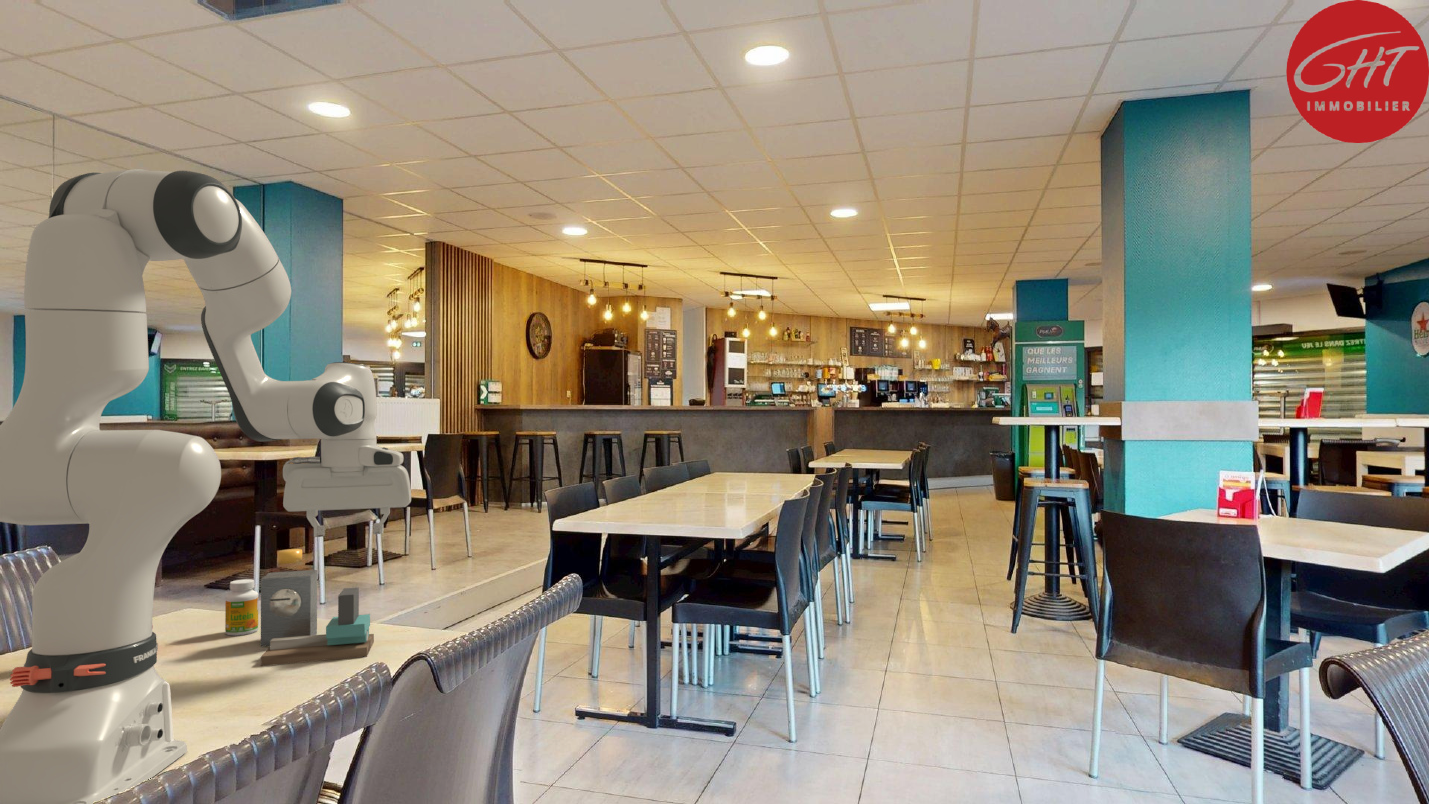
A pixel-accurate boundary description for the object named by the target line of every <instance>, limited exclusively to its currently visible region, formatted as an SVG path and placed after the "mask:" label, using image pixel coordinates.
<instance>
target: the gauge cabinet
mask: <svg viewBox="0 0 1429 804" xmlns="http://www.w3.org/2000/svg"><path fill="white" fill-rule="evenodd" d="M311 635H318V569H314V570H313V569H312V570H311V569H310V570H295V571H294V570H291V571H275V572H274V571H273V572H268V573H267V574H266V575H264V576H263V577H261V578H260V647H261V648H262V647H270V641H271V640H272V639H274V638H286V637H299V636H311Z"/></svg>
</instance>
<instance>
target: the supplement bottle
mask: <svg viewBox="0 0 1429 804" xmlns="http://www.w3.org/2000/svg"><path fill="white" fill-rule="evenodd" d="M254 588H255V580H254V579H250V578H249V579H248V578H246V579H244V578H243V579H236V580H233V581H230V582H229V591H231V592H229V593H227V595H226V596H225V602H224V603H225V605H224V606H225V608H224V609H225V610H224V611H225V613H224V615H225V622H224V623H225V624H224V625H225V626H224V628H225V630H224V631H225V635H227V636H232V637H233V636H234V637H235V636H236V637H237V636H239V637H240V636H245V635H250V634H254V633H256V632H258V630H259V599H260V597H259V593H258V591H257V590H254Z"/></svg>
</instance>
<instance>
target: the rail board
mask: <svg viewBox="0 0 1429 804" xmlns="http://www.w3.org/2000/svg"><path fill="white" fill-rule="evenodd" d="M374 642H375V634H374V633H369V637H368V631H367V641H366V642H362V643H350V644H338V645H327V639H326V633H325V634H316V635H311V636H299V637H286V638H274V639H272V640H271V641H270V646H268V648H267V649H266V651H264V653H263V654H262V655H261V656H260V666H261V667H263V666H274V665H285V664H297V663H306V662H307V663H309V662H310V663H311V662H319V661H329V660H339V659H340V660H341V659H353V658H361V657H362V658H363V656H366V657H368V656H369V653H370V651H371V649H372V647H373V645H374Z"/></svg>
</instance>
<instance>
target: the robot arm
mask: <svg viewBox="0 0 1429 804" xmlns="http://www.w3.org/2000/svg"><path fill="white" fill-rule="evenodd" d="M48 212H49V213H48V214H49V215H48V218H46V219H44V220H42V221H41V222H40V223H38V224H37V225H36V227H34V229H33V231H32V233H31V236H30V242H29V246H28V250H27V255H26V263H25V273H24V285H23V286H24V287H23V288H24V290H23V295H24V298H23V300H24V324H25V361H24V362H25V364H24V365H25V366H24V367H25V369H24V376H23V381H22V382H23V383H22V386H21V390H20V392H19V395H18V396H17V397H18V398H17V400H16V402H15V403H14V406H13V407H12V409H11V410H10V412H9V413H8V415H7V417H6V418H5V419H4V420H3V421H2V423H1V424H0V522H1V523H5V524H7V523H8V524H12V525H13V524H14V525H15V524H16V525H23V526H48V525H49V526H50V525H51V526H52V525H78V524H81V525H83V524H85V525H86V524H89V529H88V535H87V539H86V542H85V544H84V545H83V548H81V550H80V552H77V553H75V554H74V555H72V556H69V557H68V558H66V559H63V560H61V561H59V562H58V563H56V564H54V565H53V566H51V567H49V569H47V570H46V571H45V572H44V573H43V574H42V575H41V576H40V577H39V579H38V580H37V582H36V583H35V585H34V587H33V590H32V615H31V616H32V617H31V619H32V620H31V622H32V623H31V628H32V629H31V636H32V637H31V649H29V651H28V652H27V653H26V658H25V662H24V664H23V666H16V667H15V668H14V667H13V668H14V669H12V671H11V674H10V678H9V681H10V685H11V687H12V688H15V687H16V688H18V687H20V688H21V689H22V691H21V693H20V695H19V697H18V699H17V701H16V702H15V704H14V705H13V707H12V708H11V709H10V712H9V713H8V714H7V716H6V718H5V720H4V722H3V723H2V725H1V727H0V804H93V802H94V801H99V800H101V799H102V798H107V797H108V796H111V795H114V794H117V793H119V792H123V791H125V790H126V789H130V788H131V787H133V786H136V785H137V784H138V783H141V782H143V781H144V780H148V779H149V778H151V779H152V778H154V776H156V775H157V774H159V773H160V772H162V771H164V769H165V768H167V767H168V766H170V765H171V764H172V763H174V762H175V761H176V760H178V759H179V758H181V757H182V756H184V755H185V754H186V753H187V752H188V747H187V746H188V744H187V742H186V741H183V740H179V739H174V726H173V712H172V711H173V709H172V697H171V696H172V694H171V687H170V686H171V685H170V683H169V682H167V680H166V679H164V678H163V677H162V676H161V675H160V674H159V673H158V672H157V671H158V670H156V668H155V665H156V664H157V662H158V660H157V655H158V651H159V647H158V646H159V645H158V642H157V634H156V633H155V632H154V631H153V629H152V625H153V614H154V613H153V609H154V598H155V597H154V596H155V595H154V594H155V585H156V584H155V583H156V576H157V571H158V567H159V564H160V561H161V558H162V556H163V554H164V552H165V550H166V548H167V547H168V544H169V543H170V542H171V540H172V539H173V537H175V535H176V534H177V532H179V530H180V529H181V528H182V527H183V526H184V525H185V524H186V523H187V522H188V521H189V520H191V519H192V518H194V517H195V516H196V515H198V514H200V513H201V512H202V511H204V510H205V509H206V508H207V507H208V505H210V504H211V502H212V500H213V499H214V498H215V497H216V495H217V493H218V491H219V487H220V485H221V479H222V467H221V462H220V459H219V457H218V454H217V453H216V451H215V449H214V448H213V447H212V446H211V444H210V443H209V442H208V441H207V440H206V439H205V438H203V437H202V436H199V435H198V436H197V435H192V434H187V433H181V432H177V431H170V430H162V429H124V430H123V429H116V430H115V429H112V430H111V429H109V430H107V429H105V430H104V429H103V430H101V429H100V428H101V427H100V422H101V416H102V414H103V411H104V410H105V408H106V406H107V405H108V404H109V402H111V401H113V400H115V399H118V398H120V397H123V396H125V395H126V394H128V393H130V392H132V391H134V390H135V389H136V388H138V387H139V386H140V385H141V384H142V383H143V381H144V380H145V378H146V377H147V375H148V373H149V370H150V364H149V362H150V361H149V341H148V340H149V339H148V317H147V315H148V313H147V301H146V292H145V291H146V290H145V283H144V278H143V275H144V271H145V269H146V266H147V265H148V263H149V261H150V262H165V261H166V262H167V261H177V260H183V261H184V263H185V266H186V267H187V270H189V273H190V275H191V276H192V278H193V280H194V282H195V284H196V285H197V287H198V289H199V291H200V292H201V294H202V298H203V300H204V304H205V306H204V307H203V308H202V310H201V315H200V321H201V322H200V324H201V327H202V331H203V334H204V337H205V341H206V343H207V346H208V348H209V351H210V352H211V355H212V357H213V360H214V362H215V365H216V367H217V369H218V372H219V373H220V376H221V379H222V380H223V383H224V384H225V387H226V390H227V392H228V394H229V397H230V400H231V405H232V411H233V415H234V419H235V422H236V424H237V426H238V428H240V430H241V431H242V433H244V434H245V435H246V436H247V437H248V438H250V440H253V441H255V442H262V443H263V442H273V441H274V442H275V441H282V440H309V439H311V440H312V439H315V440H316V439H318V440H319V439H320V456H308V457H301V456H297V457H292V458H291V459H289V460H288V461H286V462H285V463H284V464H283V467H282V478H283V480H284V482H285V486H284V491H283V502H282V504H283V505H282V506H283V508H284V509H285V511H287V512H290V513H291V512H292V513H293V512H306V518H307V520H308V522H309V523H310V525H311V526H312V527H313V537H314V538H319V537H320V538H323V537H325V536H326V531H325V530H326V526H325V525H324V524H323V525H321V524H320V523H319V522H318V520H317V518H316V517H317V516H318V515H319V511H336V510H337V511H338V510H339V511H340V510H363V509H380V510H379V511H380V512H379V513H380V515H383V516H382V517H381V518H380V520H379V522H374V523H373V524H372V525H373V527H372V528H373V535H383V534H384V523H385V522H386V521H387V519H388V517H389V515H390V513H391V509H392V508H406V507H407V506H409V505H410V504H411V502H412V489H411V480H410V475H409V472H408V470H407V468H405V467H404V466H403V465H402V464H403V463H404V454H403V453H402V452H400V451H396V450H394V449H389V447H388V448H387V447H382V446H378V443H377V442H378V441H377V440H378V439H377V434H376V430H375V422H376V421H375V420H376V417H377V392H376V391H377V390H376V383H375V379H374V375H373V372H372V370H371V369H370V368H368V366H365V365H362V364H360V363H352V362H347V361H336V362H331V363H328V364H327V365H326V366H325V368H324V372H322V373H321V374H319V376H316V377H314V378H311V379H310V380H307V379H306V380H285V381H283V380H279V379H275V378H273V377H271V376H269V375H267V374H266V373H265V372H264V369H263V366H262V364H261V362H260V359H259V356H258V354H257V351H256V349H255V346H254V343H253V340H252V335H253V334H254V333H257V332H259V331H261V330H263V329H265V328H267V327H268V326H269V325H272V323H274V322H275V321H276V320H277V319H278V318H280V317H281V315H282V314H283V313H284V312H285V311H286V310H287V307H288V306H289V303H290V300H291V296H292V286H291V282H290V279H289V276H288V273H287V270H286V269H285V267H284V265H283V263H282V262H281V260H280V258H279V256H278V254H277V252H276V250H275V249H274V247H273V245H272V243H271V241H270V240H269V239H268V237H267V235H266V234H265V232H264V231H263V229H262V227H261V226H260V225H259V223H258V222H257V221H256V220H255V218H254V216H253V215H252V214H251V213H250V211H249V210H248V209H247V207H245V205H244V204H243V203H242V202H241V201H240V200H238V199H236V198H235V196H234V195H233V193H232V192H231V191H230V190H229V189H228V188H227V187H226V186H225V185H224V184H223V183H222V182H221V181H220V180H218V179H217V178H214V177H213V176H210V175H208V174H204V173H201V172H195V171H190V170H177V171H166V170H165V171H164V170H147V169H138V168H137V169H121V170H114V171H113V170H112V171H107V172H102V173H101V172H88V173H87V172H86V173H84V174H79V175H76V176H74V177H71V178H69V179H67V180H66V181H63V182H62V183H61V184H59V186H58V187H57V189H56V190H55V192H54V194H53V196H52V198H51V200H50V204H49V211H48ZM149 780H150V779H149ZM149 780H148V781H149Z"/></svg>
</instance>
